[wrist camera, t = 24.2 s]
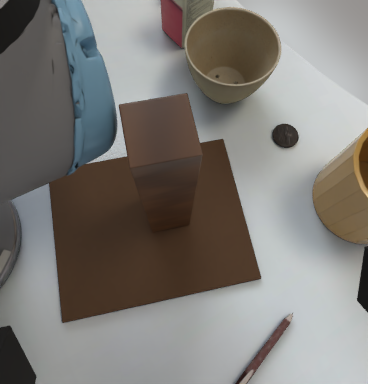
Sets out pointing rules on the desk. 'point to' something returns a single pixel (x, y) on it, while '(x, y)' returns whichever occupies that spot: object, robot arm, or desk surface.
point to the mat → (145, 239)
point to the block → (163, 157)
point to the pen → (264, 351)
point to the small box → (182, 16)
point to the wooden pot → (345, 192)
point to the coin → (285, 135)
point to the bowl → (231, 53)
